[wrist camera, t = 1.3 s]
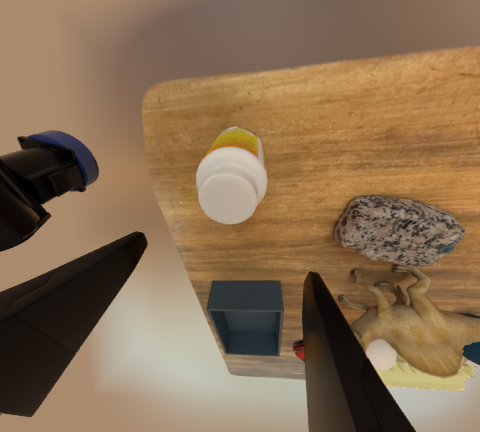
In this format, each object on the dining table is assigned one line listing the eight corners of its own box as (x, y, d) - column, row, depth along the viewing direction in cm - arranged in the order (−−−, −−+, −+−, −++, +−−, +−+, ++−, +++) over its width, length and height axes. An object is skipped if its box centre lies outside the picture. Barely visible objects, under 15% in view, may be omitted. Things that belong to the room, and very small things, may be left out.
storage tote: (212, 280, 35) (206, 309, 31) (280, 280, 34) (283, 310, 29) (227, 329, 48) (225, 354, 44) (277, 330, 47) (279, 356, 42)
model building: (342, 357, 55) (352, 389, 49) (357, 339, 47) (371, 375, 41) (431, 362, 53) (453, 397, 47) (463, 345, 45) (494, 384, 39)
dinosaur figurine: (309, 267, 31) (338, 365, 20) (498, 253, 26) (666, 371, 16) (308, 291, 35) (332, 383, 25) (470, 283, 31) (586, 391, 20)
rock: (453, 202, 22) (492, 225, 18) (406, 250, 27) (429, 276, 24) (352, 188, 22) (371, 209, 18) (323, 239, 27) (334, 264, 23)
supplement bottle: (203, 143, 20) (167, 187, 12) (248, 113, 18) (242, 141, 10) (231, 183, 22) (217, 242, 14) (272, 162, 20) (283, 215, 12)
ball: (389, 319, 40) (415, 365, 33) (374, 334, 44) (394, 377, 38) (351, 317, 40) (370, 362, 34) (340, 332, 45) (354, 374, 38)
